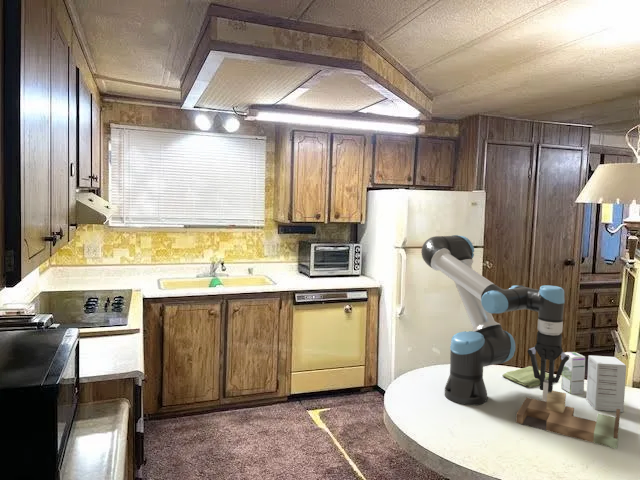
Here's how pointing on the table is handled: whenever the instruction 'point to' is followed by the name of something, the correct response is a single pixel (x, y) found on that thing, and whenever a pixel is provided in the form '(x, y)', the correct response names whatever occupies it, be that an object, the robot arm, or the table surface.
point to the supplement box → (606, 383)
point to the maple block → (556, 401)
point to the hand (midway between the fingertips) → (545, 399)
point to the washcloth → (524, 376)
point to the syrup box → (574, 374)
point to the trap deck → (570, 423)
